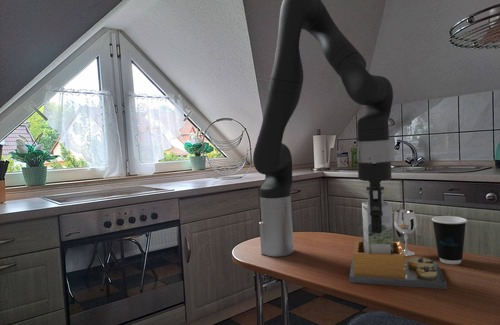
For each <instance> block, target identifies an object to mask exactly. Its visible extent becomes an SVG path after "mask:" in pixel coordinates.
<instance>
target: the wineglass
mask: <svg viewBox="0 0 500 325" xmlns="http://www.w3.org/2000/svg"><path fill="white" fill-rule="evenodd" d="M393 225H394V228H395V230H396V231H397V232H399V233H400V234H403V239H404V249H403V252H404V255H405V256H406V257H411V256H415V255H416V252H414V251H411V250H409V249H408V239H409V238H408V237H409V236H408V235H409V234H412V233H414V232H415V230H416V228H417V217H416V214H415V211H414V210H412V209H405V208H404V209H397V210H395V213H394V219H393Z"/></svg>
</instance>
